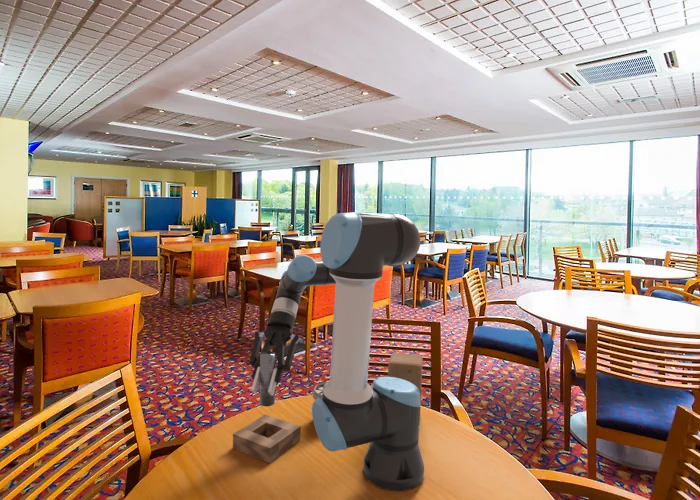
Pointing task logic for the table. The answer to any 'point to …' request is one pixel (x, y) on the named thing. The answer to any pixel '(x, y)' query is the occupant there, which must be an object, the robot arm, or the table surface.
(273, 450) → the square block with hole
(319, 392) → the food container
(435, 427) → the table surface
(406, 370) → the wooden block
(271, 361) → the peg
